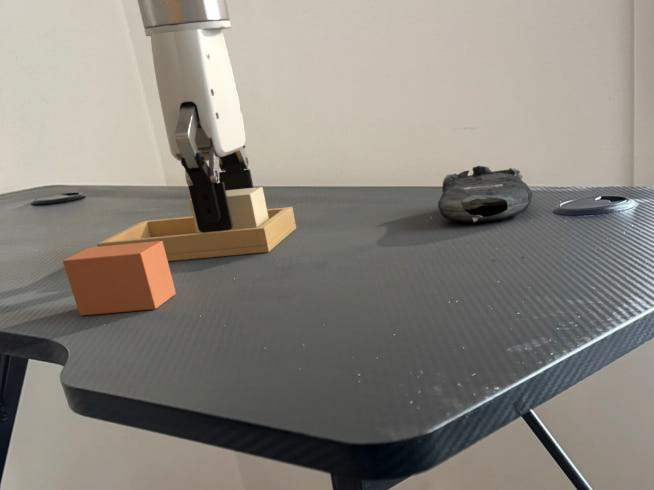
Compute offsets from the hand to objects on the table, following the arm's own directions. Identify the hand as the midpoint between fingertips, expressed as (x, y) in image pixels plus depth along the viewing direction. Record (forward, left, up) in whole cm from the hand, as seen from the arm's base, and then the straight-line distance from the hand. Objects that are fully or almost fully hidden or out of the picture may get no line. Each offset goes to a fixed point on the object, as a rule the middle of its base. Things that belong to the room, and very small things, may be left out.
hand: (230, 222), depth 91 cm
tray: (-3, 0, -2) cm, 4 cm away
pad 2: (0, 0, -1) cm, 1 cm away
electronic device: (+25, +5, -2) cm, 25 cm away
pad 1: (-2, -24, -2) cm, 24 cm away
